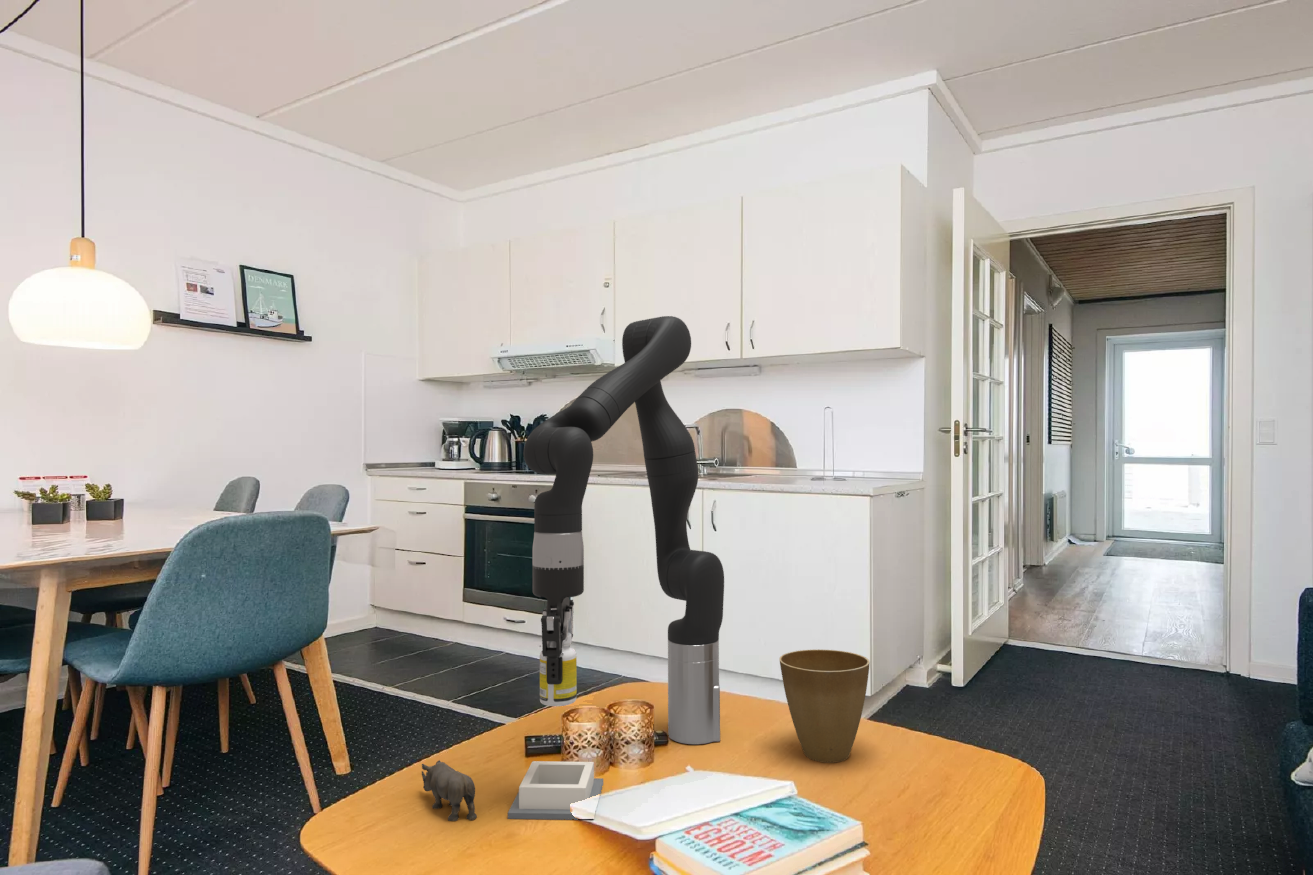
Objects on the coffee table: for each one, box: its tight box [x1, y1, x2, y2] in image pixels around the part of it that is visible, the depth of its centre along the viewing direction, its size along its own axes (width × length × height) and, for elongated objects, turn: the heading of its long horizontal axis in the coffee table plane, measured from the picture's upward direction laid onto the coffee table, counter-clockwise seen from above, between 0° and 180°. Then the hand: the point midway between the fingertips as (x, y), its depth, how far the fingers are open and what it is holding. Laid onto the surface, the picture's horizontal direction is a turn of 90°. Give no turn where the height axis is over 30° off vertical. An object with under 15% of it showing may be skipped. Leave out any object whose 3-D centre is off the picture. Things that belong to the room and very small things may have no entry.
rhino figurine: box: [421, 759, 478, 822], centre depth 112 cm, size 4×14×6 cm, turn 43°
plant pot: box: [779, 649, 871, 763], centre depth 131 cm, size 15×15×16 cm
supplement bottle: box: [539, 633, 578, 707], centre depth 114 cm, size 5×5×10 cm
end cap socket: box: [507, 760, 604, 821], centre depth 114 cm, size 12×12×4 cm
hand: (558, 677), depth 114 cm, fingers closed on supplement bottle, 5 cm apart
